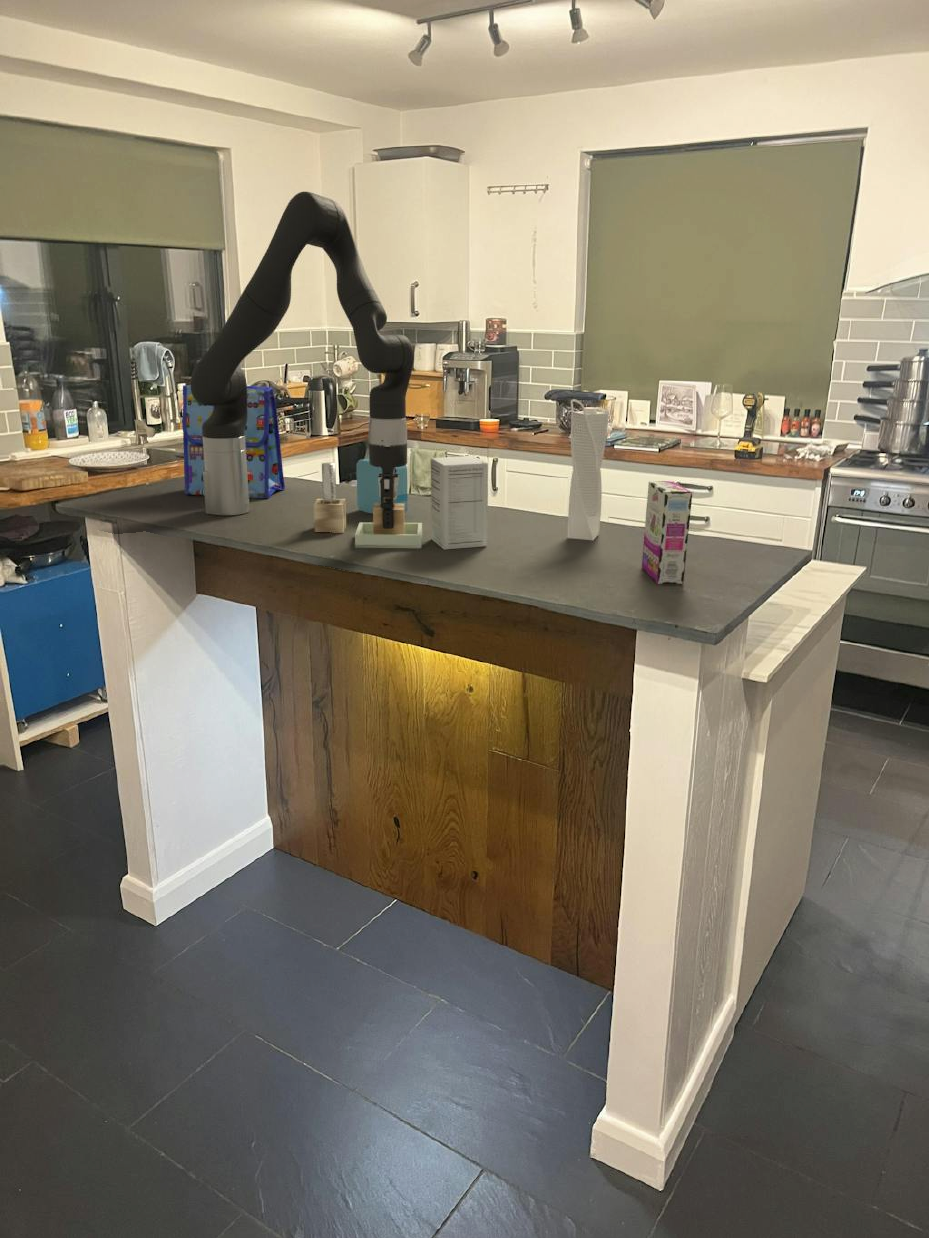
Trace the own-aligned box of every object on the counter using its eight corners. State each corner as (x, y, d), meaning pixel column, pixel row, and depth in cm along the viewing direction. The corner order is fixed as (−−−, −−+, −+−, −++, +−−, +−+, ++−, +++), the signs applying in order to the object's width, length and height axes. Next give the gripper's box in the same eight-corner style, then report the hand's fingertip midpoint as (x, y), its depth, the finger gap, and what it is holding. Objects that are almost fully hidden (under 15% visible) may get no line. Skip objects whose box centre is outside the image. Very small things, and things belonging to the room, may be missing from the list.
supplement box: (473, 536, 195) (474, 455, 189) (488, 546, 186) (490, 462, 181) (429, 539, 192) (429, 457, 186) (442, 550, 184) (443, 464, 178)
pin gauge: (323, 530, 198) (320, 464, 193) (324, 527, 200) (322, 462, 196) (336, 531, 198) (334, 464, 193) (338, 528, 200) (335, 462, 196)
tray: (355, 547, 184) (354, 535, 183) (359, 534, 195) (359, 522, 194) (421, 548, 185) (421, 535, 184) (422, 535, 195) (422, 522, 194)
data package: (408, 515, 213) (407, 462, 209) (394, 518, 210) (393, 465, 206) (370, 507, 220) (369, 456, 217) (356, 510, 217) (355, 459, 213)
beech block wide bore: (314, 532, 196) (313, 504, 194) (318, 526, 202) (317, 498, 200) (343, 533, 196) (342, 504, 194) (346, 526, 202) (345, 499, 200)
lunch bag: (184, 496, 231) (173, 376, 222) (206, 486, 244) (197, 372, 234) (269, 499, 228) (262, 378, 219) (286, 489, 241) (280, 373, 232)
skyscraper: (559, 538, 194) (565, 400, 185) (568, 530, 200) (574, 397, 191) (597, 542, 191) (605, 402, 182) (604, 534, 198) (613, 399, 189)
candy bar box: (685, 585, 162) (694, 491, 157) (657, 585, 162) (664, 492, 157) (667, 568, 173) (674, 480, 168) (640, 568, 173) (647, 480, 167)
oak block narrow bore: (373, 539, 186) (373, 509, 185) (375, 532, 192) (374, 503, 190) (403, 539, 187) (403, 510, 185) (404, 532, 192) (404, 503, 190)
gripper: (371, 435, 190) (372, 516, 195) (366, 446, 176) (367, 532, 182) (408, 436, 190) (408, 516, 196) (406, 446, 177) (406, 532, 182)
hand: (389, 524), depth 189 cm, fingers open, 6 cm apart
